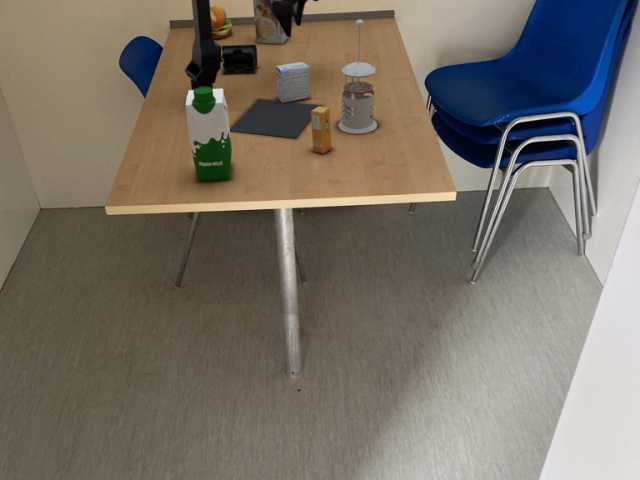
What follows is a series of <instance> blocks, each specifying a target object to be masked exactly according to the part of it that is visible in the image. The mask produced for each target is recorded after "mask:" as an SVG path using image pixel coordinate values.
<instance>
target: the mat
mask: <svg viewBox="0 0 640 480" xmlns="http://www.w3.org/2000/svg"><path fill="white" fill-rule="evenodd" d="M318 106H320V107H322V105H321V104H320V105H319V104H311V103H302V102H293V101H290V102H285V103H282V102H281V101H280V100H272V99H271V100H270V99H262V98H259V99H257V100H256V101H255V102H254V103H253V104H252V105H251V107H249V108H248V109H247V111H246V112H245V113H244V114H243V115H242V116H241V117H240V118H239V119H238V120H237V121H236V122H235V123H234V124H233V125H232V126H231V127H230V132H234V133H235V132H236V133H243V134H244V133H245V134H253V135H260V136H261V135H262V136H270V137H278V138H286V139H294V140H296V139H297V138H298V137H299V136H300V134H301V133H302V132H303V131H304V129H305V128H306V126H307V125H308V124H309V123H310V122H311V111H312V110H314V109H315V108H317V107H318Z"/></svg>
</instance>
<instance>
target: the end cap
mask: <svg viewBox="0 0 640 480" xmlns="http://www.w3.org/2000/svg"><path fill="white" fill-rule="evenodd" d="M221 49H222V51H221V57H222V60H223V62H222V67H223V70H224V71H223V73H224V75H238V74H240V75H241V74H242V75H243V74H255V73H256V69H257V66H258V48H257V45H256V44H226V45H223V44H222V45H221Z"/></svg>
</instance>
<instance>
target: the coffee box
mask: <svg viewBox="0 0 640 480" xmlns="http://www.w3.org/2000/svg"><path fill="white" fill-rule="evenodd" d="M273 1H274V0H252V5H253V16H254V29H255V39H256V43H257V44H277V45H284V43H285V42H286V41H287V40H288V38H289V37H287V36H286V34H285V32H284V30H283V28H282V26H281V25H280V23H279V21H278V19H277V18H276V16H275V15H274V14H273V13H272V12H271V4H272V2H273Z"/></svg>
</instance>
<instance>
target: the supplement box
mask: <svg viewBox="0 0 640 480" xmlns="http://www.w3.org/2000/svg"><path fill="white" fill-rule="evenodd" d="M330 110H331V109H330V108H328V107H324V106H321V107H320V106H318V107H317V108H315V109H314V110H312V111H311V120H310V124H311V136H312V137H311V139H312V151H313V152H315V153H319V154H322V155H324V154H325V153H326V152H328V151H330V150H331V149H332V136H331V135H332V134H331V131H332V130H331V111H330Z"/></svg>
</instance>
